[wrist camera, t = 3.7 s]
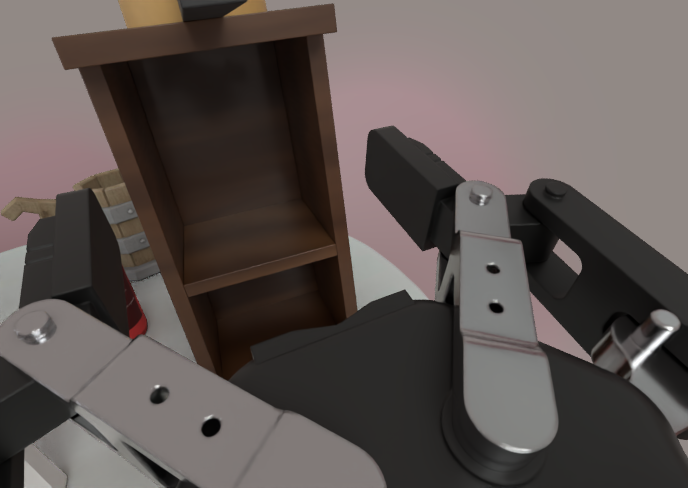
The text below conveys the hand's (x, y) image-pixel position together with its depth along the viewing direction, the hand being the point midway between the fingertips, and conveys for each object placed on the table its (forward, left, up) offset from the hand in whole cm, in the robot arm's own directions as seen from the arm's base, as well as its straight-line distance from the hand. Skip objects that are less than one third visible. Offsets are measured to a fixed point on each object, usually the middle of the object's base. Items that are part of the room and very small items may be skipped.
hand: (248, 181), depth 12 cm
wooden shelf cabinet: (-15, +16, -26) cm, 34 cm away
